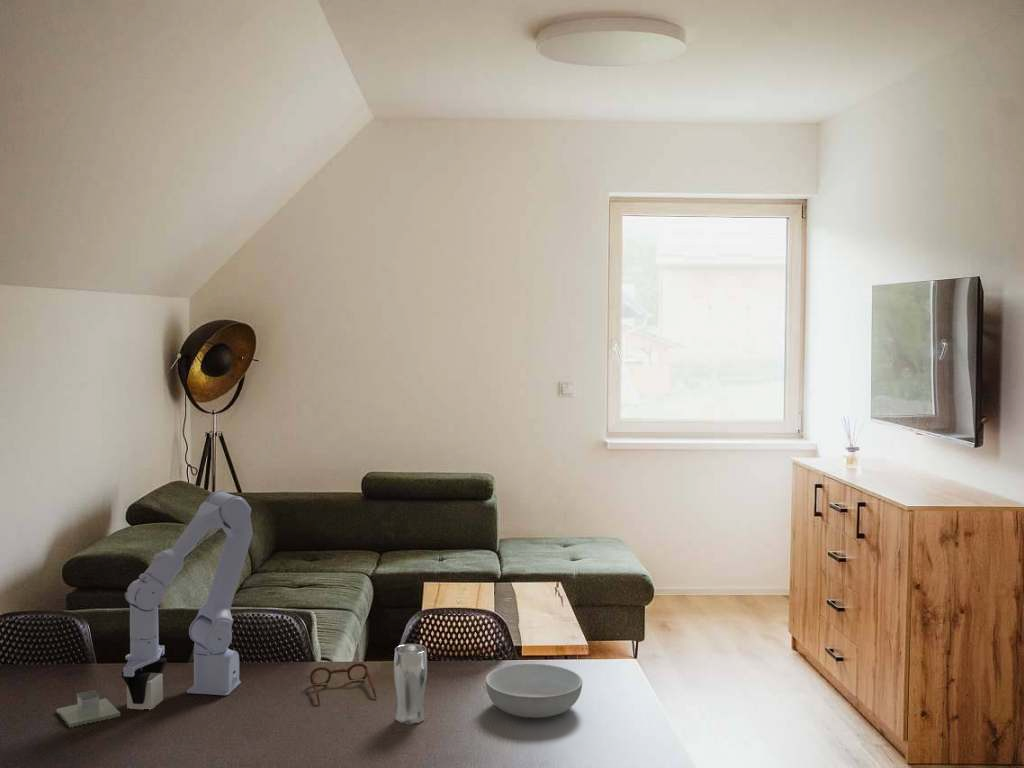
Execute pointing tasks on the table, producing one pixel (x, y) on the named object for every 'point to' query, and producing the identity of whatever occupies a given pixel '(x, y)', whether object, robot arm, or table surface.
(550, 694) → the serving bowl
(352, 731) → the table surface
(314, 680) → the glasses
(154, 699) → the sleeve
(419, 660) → the beer glass
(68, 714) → the duct stub
